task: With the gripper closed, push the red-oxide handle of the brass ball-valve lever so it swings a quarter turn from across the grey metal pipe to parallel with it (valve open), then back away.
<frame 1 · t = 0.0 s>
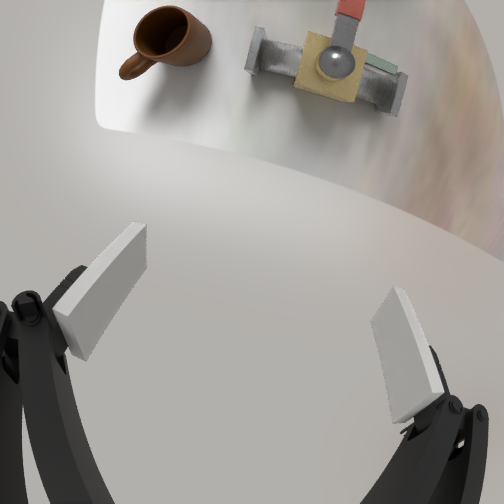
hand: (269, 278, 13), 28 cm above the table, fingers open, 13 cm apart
mug: (176, 53, 30), on the table
valve pipe: (323, 72, 29), on the table
lever: (345, 27, 19), point 10 cm above the table, hinge at 0.0°
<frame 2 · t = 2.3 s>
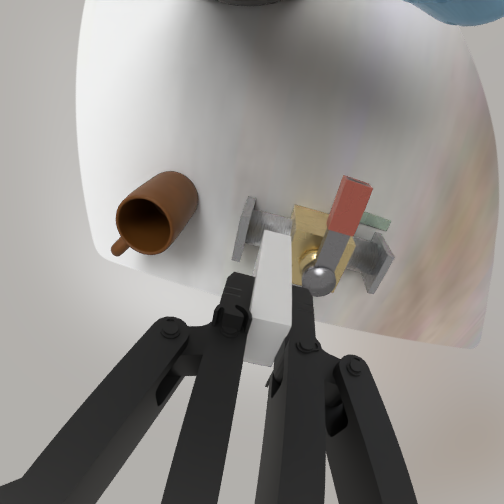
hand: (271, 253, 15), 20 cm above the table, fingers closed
mug: (163, 204, 37), on the table
valve pipe: (312, 234, 36), on the table
lever: (334, 242, 25), point 10 cm above the table, hinge at 0.0°
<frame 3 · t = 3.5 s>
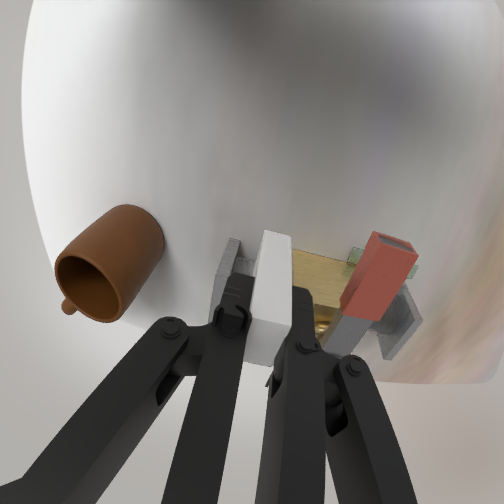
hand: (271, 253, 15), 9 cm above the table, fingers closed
mug: (124, 244, 28), on the table
valve pipe: (316, 285, 27), on the table
lever: (349, 325, 16), point 10 cm above the table, hinge at 0.0°
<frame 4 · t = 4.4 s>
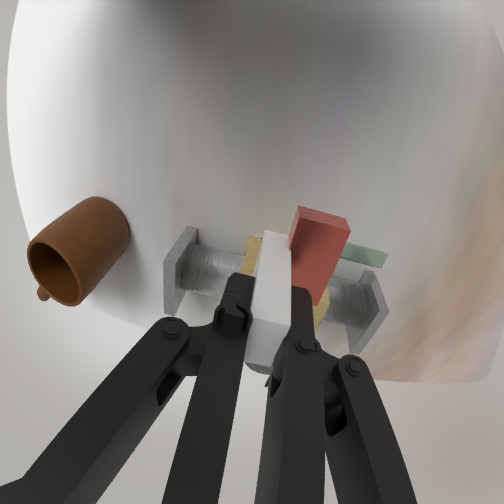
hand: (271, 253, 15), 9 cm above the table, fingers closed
mug: (96, 235, 28), on the table
valve pipe: (277, 274, 27), on the table
lever: (288, 310, 16), point 10 cm above the table, hinge at 0.0°, touching gripper
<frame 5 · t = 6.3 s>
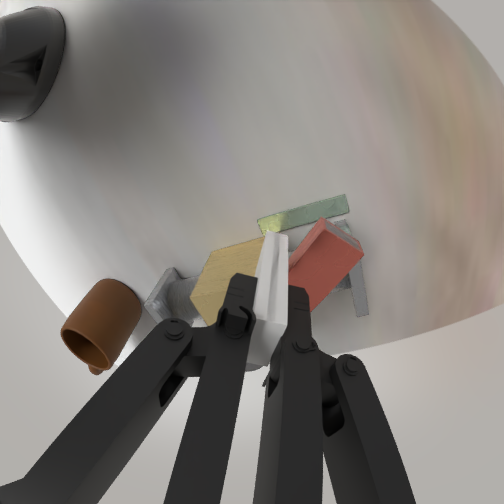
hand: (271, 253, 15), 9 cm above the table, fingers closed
mug: (119, 308, 34), on the table
valve pipe: (257, 271, 27), on the table
lever: (276, 312, 16), point 10 cm above the table, hinge at 50.7°, touching gripper
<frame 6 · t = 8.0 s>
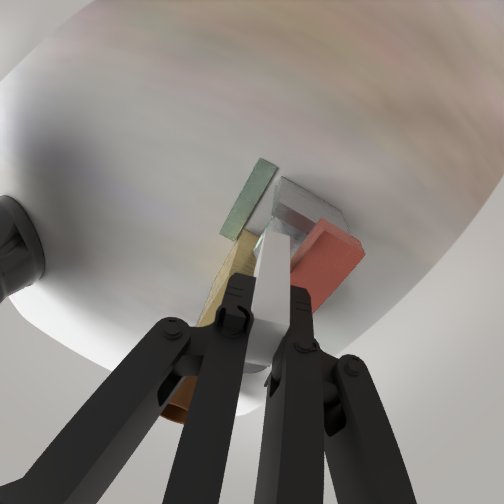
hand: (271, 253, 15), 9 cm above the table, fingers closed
mug: (200, 367, 38), on the table
valve pipe: (259, 272, 27), on the table
lever: (278, 314, 16), point 10 cm above the table, hinge at 90.2°, touching gripper
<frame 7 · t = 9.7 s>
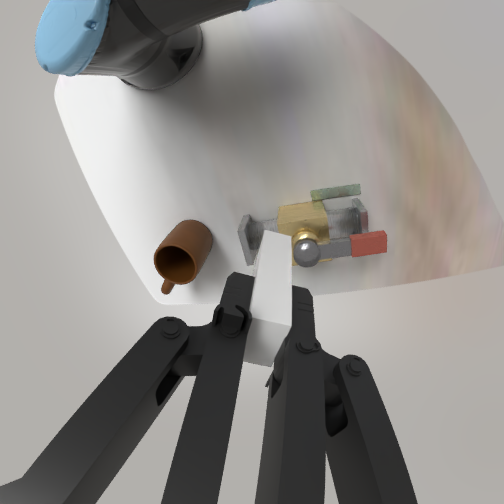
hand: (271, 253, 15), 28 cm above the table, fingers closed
mug: (189, 246, 49), on the table
valve pipe: (303, 223, 44), on the table
lever: (340, 247, 35), point 10 cm above the table, hinge at 90.2°
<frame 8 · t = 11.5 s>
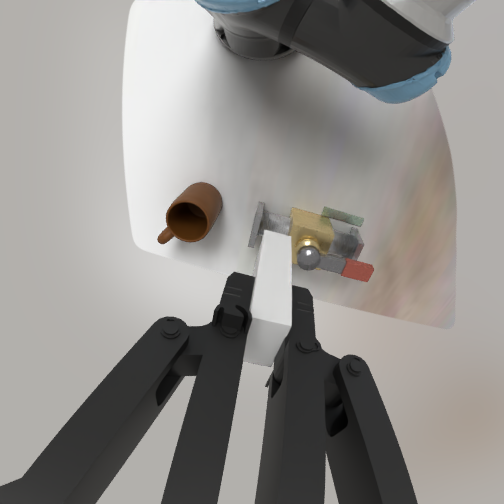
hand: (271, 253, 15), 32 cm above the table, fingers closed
mug: (195, 206, 50), on the table
valve pipe: (305, 229, 50), on the table
lever: (335, 264, 42), point 10 cm above the table, hinge at 90.2°
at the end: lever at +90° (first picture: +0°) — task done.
